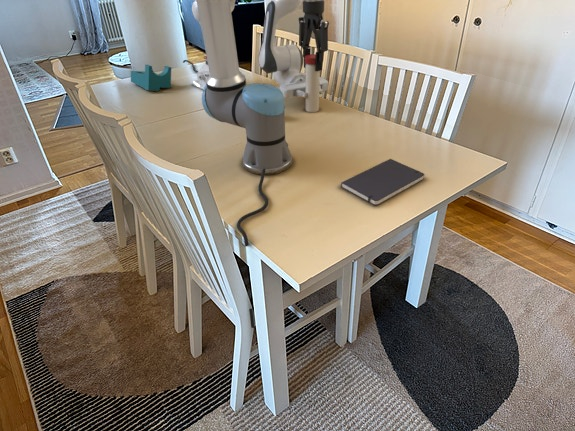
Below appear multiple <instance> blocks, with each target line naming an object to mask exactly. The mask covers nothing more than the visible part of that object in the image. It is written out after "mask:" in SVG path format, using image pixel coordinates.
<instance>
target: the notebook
mask: <svg viewBox="0 0 575 431" xmlns="http://www.w3.org/2000/svg"><path fill="white" fill-rule="evenodd" d="M424 176H425V173H424V172H422V171H420V170H417V169H415V168H413V167H410V166H408V165H406V164H404V163H401V162H399V161H397V160H395V159H393V158H389V159H387V160H385V161H382V162H380V163H379V164H377V165H375V166H372V167H370V168H368V169H366V170H364V171H362V172H360V173H358V174H356V175H353V176H351V177H350V178H348V179H345V180H344V181H341V182H340V183H341V184H340V187H341V188H342V189H344V190H345V191H347V192H349V193H350V194H353V195H355V196H356V197H358V198H360V199H362V200H363V201H365V202H367V203H369V204H371V205H373V206H379V205H381V204H382V203H384V202H386V201H388V200H390V199H391V198H393V197H395V196H397V195H398V194H400V193H402V192H404V191H406V190H407V189H409V188H411V187H413V186H415V185H416V184H418V183H420V182H422V181H423V180H424Z"/></svg>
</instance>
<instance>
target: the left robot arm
mask: <svg viewBox="0 0 575 431" xmlns="http://www.w3.org/2000/svg"><path fill="white" fill-rule="evenodd" d="M236 1H237V0H230V8H231V13H232V12H233V11H234V9H235V5H236ZM303 1H304V0H270V1H269V2H268V3H267V4H266V8H265V14H264V20H263V21H264V22H263V28H262V35H261V44H260V49H259V52H258V57H257V58H258V59H257V61H258V67H260V70H262V71H263V72H265V73H266V74H272V73H273V74H272V75H273V76H272V77H273V79H274V81H275V82H276V84H277V85H278V86H277V88H278V89H280V90H281V92H282V93H283V96H284V99H292V98H297V97H302V98H305V97H307V96H308V95H307V94H308V93H307V92H305V89H306V72H302V69H303V67H304V57H303V51H302V50H301V48H299V47H300V46H299V45H296V44H283V45H277V46H276V45H275V39H276V33H277V32H276V31H277V26H278V24H279V22H280V21H281V20H282V19H283V18H285V17H286V16H288V15H290V14H292V13H294V12H295V11H297V10H298V9H299V7H301V5H302V4H303ZM191 12H192V15H193V17H194V19H195V20H196V21H197V22H198V23H199V25H200V27H201V23H200V18H199V12H198V7H197V2H196V0H194V1H193V2H192V5H191ZM203 60H205V63H204V65H203V66H202V67H200V69H198V70H196V69H195V65H194V63H193V62H192V61H190V60H187V59H184V60H183V61H182V63H184V64H185V62H186V63H188V64H190V65H191V67H192V70H193V71H194V73H197V74H196V76H197V79H196V80H195V81H193V82H192V85H193V87H195V88H198V89H200V90H203V89H204V87H205V85H206V80H207V78H208V77H209V75H210V72H209V66H208V61H207V56H206V55H204V56H203ZM328 90H329V81H328V79H325V78H324V77H321V76H320V88H319V95H323V92H326V91H328Z"/></svg>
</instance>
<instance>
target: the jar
mask: <svg viewBox="0 0 575 431" xmlns="http://www.w3.org/2000/svg"><path fill="white" fill-rule="evenodd" d="M305 73H306V89H305V92H307V93H308V94H307V95H308V96H307V97H304V98H305V102H304V103H305V105H304V106H305V107H304V108H305V111H306V112H308V113H317V112H319V111H320V94H319V88H320V77H321V70H320V71H315V65H309V64H306V68H305Z"/></svg>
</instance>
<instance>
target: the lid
mask: <svg viewBox="0 0 575 431" xmlns="http://www.w3.org/2000/svg"><path fill="white" fill-rule="evenodd" d="M315 57H316V53H315V54H314V53H312V54H311V53H310V55H306V56H305V63H306V64H309V65H315Z"/></svg>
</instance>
